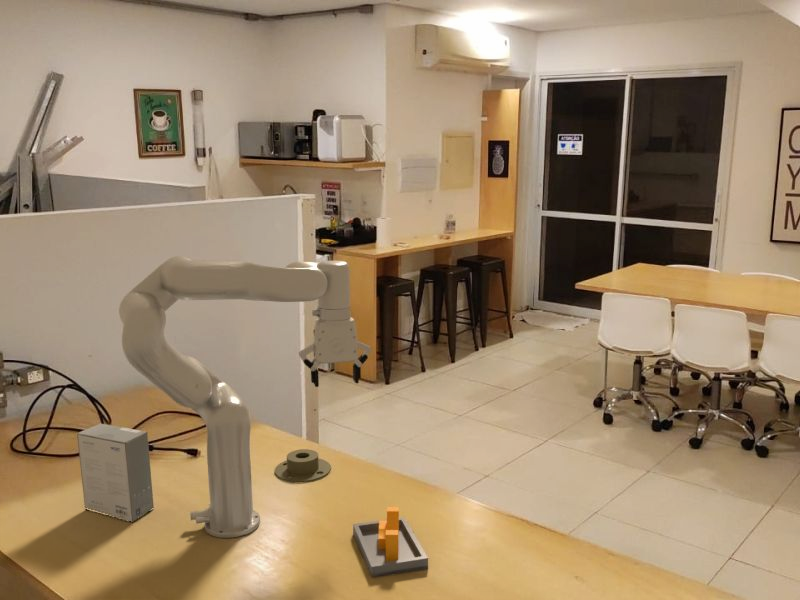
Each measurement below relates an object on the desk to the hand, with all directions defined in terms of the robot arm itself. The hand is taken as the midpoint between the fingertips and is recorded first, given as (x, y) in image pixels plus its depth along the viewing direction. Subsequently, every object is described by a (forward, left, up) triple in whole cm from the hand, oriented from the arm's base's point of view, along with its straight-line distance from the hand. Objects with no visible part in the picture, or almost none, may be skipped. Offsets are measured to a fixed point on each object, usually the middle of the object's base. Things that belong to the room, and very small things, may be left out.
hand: (336, 383), depth 179 cm
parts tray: (+6, -26, -30) cm, 40 cm away
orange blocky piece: (+6, -26, -30) cm, 40 cm away
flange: (-6, +20, -31) cm, 37 cm away
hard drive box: (-52, +10, -31) cm, 61 cm away
